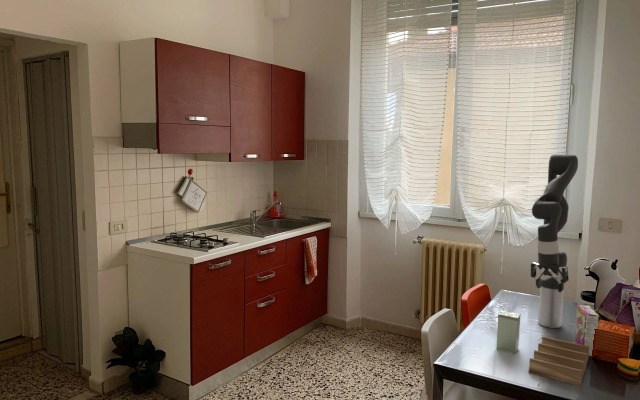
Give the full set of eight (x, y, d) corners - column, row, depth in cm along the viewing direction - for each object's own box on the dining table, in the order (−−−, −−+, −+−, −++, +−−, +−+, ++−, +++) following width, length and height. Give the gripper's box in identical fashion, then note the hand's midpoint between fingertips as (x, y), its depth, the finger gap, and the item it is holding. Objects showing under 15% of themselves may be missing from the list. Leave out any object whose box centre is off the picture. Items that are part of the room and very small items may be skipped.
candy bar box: (573, 344, 195) (576, 304, 193) (586, 345, 194) (590, 305, 192) (582, 356, 184) (585, 314, 182) (596, 357, 183) (600, 315, 181)
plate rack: (541, 348, 190) (542, 335, 190) (588, 358, 182) (589, 345, 181) (528, 372, 170) (529, 359, 169) (580, 385, 161) (581, 371, 160)
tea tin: (499, 344, 194) (501, 310, 192) (518, 348, 190) (520, 314, 188) (496, 348, 189) (498, 314, 188) (515, 353, 186) (517, 317, 184)
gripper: (570, 250, 192) (571, 290, 194) (535, 246, 203) (536, 283, 205) (562, 255, 187) (563, 295, 189) (526, 250, 198) (528, 289, 200)
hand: (549, 289), depth 197 cm, fingers open, 8 cm apart
